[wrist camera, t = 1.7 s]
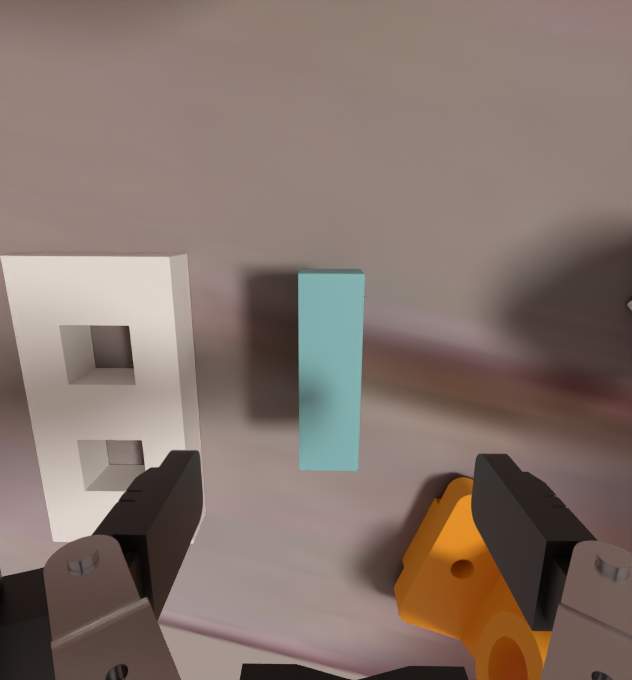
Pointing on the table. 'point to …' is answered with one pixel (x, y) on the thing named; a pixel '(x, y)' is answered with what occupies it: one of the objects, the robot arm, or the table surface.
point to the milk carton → (630, 305)
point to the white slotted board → (102, 373)
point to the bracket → (467, 592)
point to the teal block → (330, 367)
